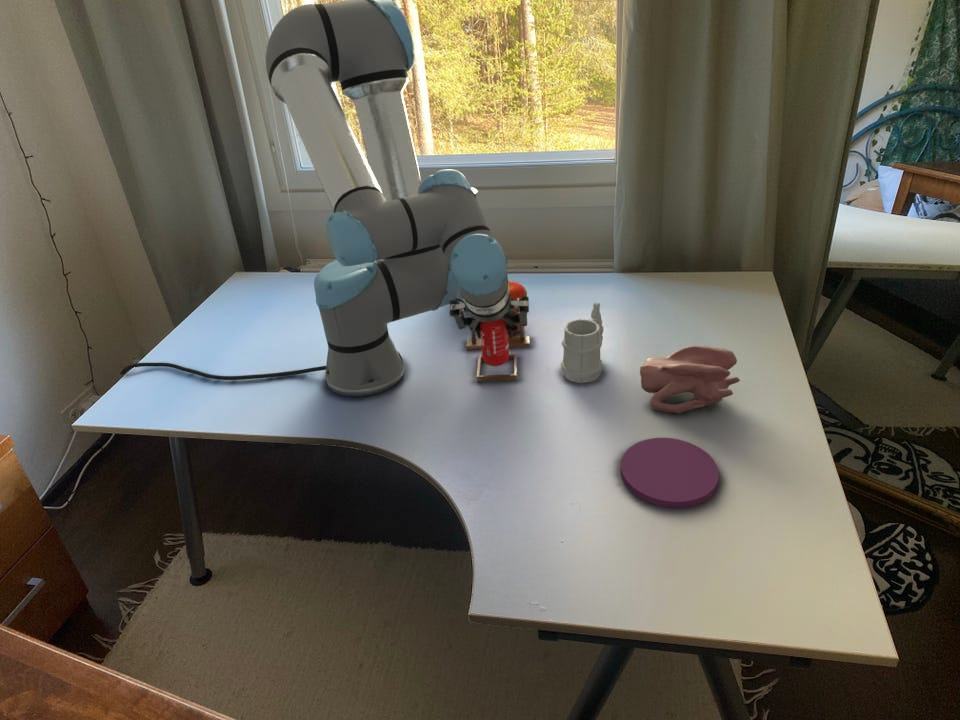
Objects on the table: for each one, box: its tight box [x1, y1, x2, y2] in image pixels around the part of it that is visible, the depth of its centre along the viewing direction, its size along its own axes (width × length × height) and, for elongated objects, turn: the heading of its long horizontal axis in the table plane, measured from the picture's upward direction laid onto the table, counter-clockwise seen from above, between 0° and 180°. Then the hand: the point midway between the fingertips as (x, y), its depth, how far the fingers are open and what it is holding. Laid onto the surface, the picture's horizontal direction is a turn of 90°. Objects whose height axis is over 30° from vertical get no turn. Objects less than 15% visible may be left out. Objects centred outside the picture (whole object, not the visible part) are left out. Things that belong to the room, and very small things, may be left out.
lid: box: [619, 437, 720, 509], centre depth 93 cm, size 14×14×1 cm
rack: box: [466, 324, 531, 382], centre depth 122 cm, size 15×13×8 cm
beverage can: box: [479, 320, 510, 367], centre depth 117 cm, size 5×5×12 cm
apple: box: [508, 280, 528, 334], centre depth 131 cm, size 9×8×12 cm
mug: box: [560, 302, 604, 384], centre depth 116 cm, size 8×12×12 cm, turn 146°
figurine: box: [639, 345, 741, 415], centre depth 106 cm, size 12×10×15 cm
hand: (495, 331), depth 121 cm, fingers closed on beverage can, 5 cm apart
